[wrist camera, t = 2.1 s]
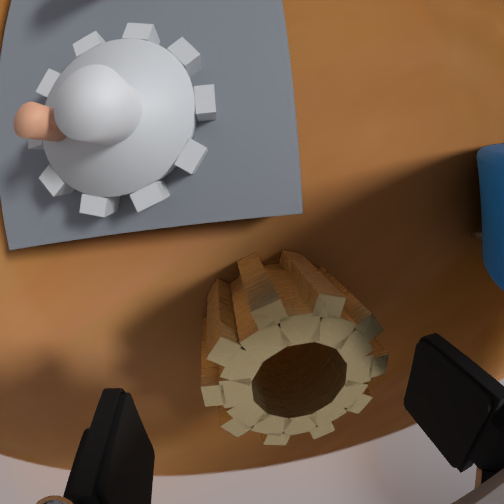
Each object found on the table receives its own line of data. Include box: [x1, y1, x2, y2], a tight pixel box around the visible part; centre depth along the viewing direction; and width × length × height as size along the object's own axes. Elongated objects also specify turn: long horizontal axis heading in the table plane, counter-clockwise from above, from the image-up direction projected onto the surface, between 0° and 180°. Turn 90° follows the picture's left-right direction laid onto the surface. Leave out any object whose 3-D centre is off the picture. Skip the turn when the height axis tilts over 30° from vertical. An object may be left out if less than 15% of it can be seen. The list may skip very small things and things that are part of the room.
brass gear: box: [201, 250, 389, 445], centre depth 12 cm, size 6×6×5 cm
